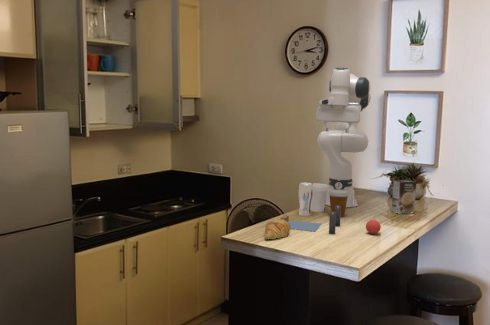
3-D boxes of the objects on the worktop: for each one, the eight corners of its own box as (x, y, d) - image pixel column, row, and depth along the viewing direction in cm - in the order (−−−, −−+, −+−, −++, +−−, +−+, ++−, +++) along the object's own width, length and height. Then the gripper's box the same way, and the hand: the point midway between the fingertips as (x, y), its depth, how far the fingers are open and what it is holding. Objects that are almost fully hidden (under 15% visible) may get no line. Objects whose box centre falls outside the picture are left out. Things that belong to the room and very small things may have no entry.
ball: (366, 231, 219) (367, 217, 218) (380, 232, 217) (381, 218, 216) (364, 234, 213) (365, 220, 213) (379, 236, 211) (380, 222, 211)
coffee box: (398, 214, 250) (400, 182, 248) (391, 211, 256) (393, 180, 254) (414, 213, 253) (416, 181, 251) (406, 210, 259) (408, 179, 257)
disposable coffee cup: (334, 218, 240) (335, 193, 238) (323, 214, 248) (324, 189, 246) (351, 217, 243) (353, 192, 242) (340, 212, 252) (341, 188, 250)
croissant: (272, 251, 201) (282, 235, 198) (252, 236, 204) (261, 220, 201) (292, 236, 219) (301, 221, 217) (273, 223, 223) (281, 208, 220)
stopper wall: (284, 220, 234) (284, 215, 234) (288, 221, 233) (288, 215, 233) (276, 226, 223) (277, 221, 222) (281, 227, 222) (281, 221, 222)
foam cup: (330, 212, 252) (331, 186, 250) (312, 213, 249) (313, 187, 247) (321, 208, 261) (323, 183, 259) (305, 209, 258) (306, 183, 256)
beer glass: (295, 213, 249) (296, 182, 247) (307, 212, 251) (308, 181, 249) (302, 216, 242) (303, 185, 240) (315, 215, 245) (316, 184, 243)
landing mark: (291, 220, 234) (291, 220, 234) (321, 224, 229) (321, 223, 229) (283, 228, 221) (283, 227, 221) (315, 231, 216) (315, 231, 216)
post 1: (329, 232, 216) (330, 211, 215) (335, 232, 215) (336, 212, 214) (328, 233, 214) (329, 212, 212) (334, 234, 213) (335, 213, 211)
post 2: (334, 224, 228) (335, 205, 227) (340, 225, 227) (341, 205, 226) (333, 226, 226) (334, 206, 225) (339, 226, 225) (340, 206, 224)
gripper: (362, 103, 238) (360, 133, 238) (319, 102, 245) (316, 131, 245) (360, 102, 232) (358, 133, 232) (316, 100, 239) (313, 130, 239)
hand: (336, 132), depth 239 cm, fingers open, 8 cm apart
